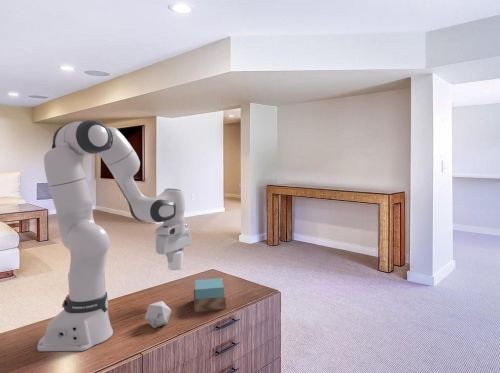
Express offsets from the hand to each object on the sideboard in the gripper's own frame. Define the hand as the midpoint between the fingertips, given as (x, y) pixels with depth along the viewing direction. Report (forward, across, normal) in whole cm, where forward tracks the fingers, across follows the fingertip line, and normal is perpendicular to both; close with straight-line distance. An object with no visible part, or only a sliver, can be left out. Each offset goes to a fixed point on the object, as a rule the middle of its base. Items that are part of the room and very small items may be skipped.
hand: (175, 260), depth 151 cm
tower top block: (+12, 0, +16) cm, 20 cm away
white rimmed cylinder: (+4, 0, 0) cm, 4 cm away
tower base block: (+17, -1, +16) cm, 23 cm away
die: (+17, +22, +8) cm, 29 cm away
